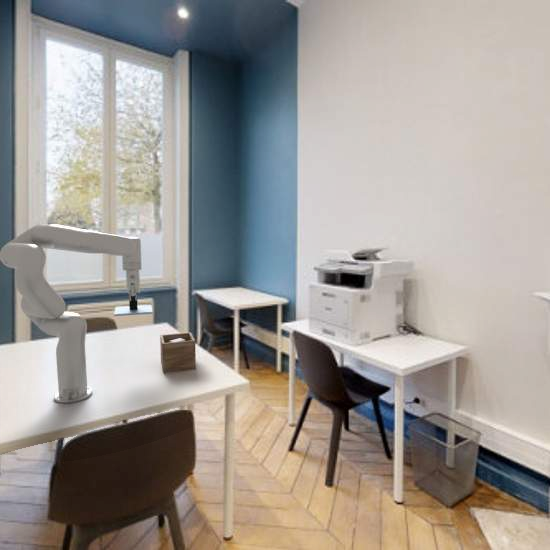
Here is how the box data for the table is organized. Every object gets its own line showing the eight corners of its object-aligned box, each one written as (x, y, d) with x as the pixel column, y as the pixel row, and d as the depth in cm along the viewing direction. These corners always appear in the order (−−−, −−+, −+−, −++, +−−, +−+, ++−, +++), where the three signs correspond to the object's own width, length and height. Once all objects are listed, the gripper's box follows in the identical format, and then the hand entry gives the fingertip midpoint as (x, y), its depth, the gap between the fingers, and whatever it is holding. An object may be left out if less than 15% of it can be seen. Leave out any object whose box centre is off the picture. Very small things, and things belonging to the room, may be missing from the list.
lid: (152, 313, 164) (152, 298, 163) (114, 316, 159) (113, 300, 158) (151, 306, 178) (150, 292, 177) (115, 308, 173) (115, 294, 172)
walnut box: (195, 369, 173) (195, 340, 172) (163, 372, 169) (162, 343, 167) (191, 358, 187) (190, 332, 185) (160, 362, 182) (160, 335, 180)
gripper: (141, 268, 159) (143, 312, 162) (141, 264, 175) (142, 304, 177) (122, 268, 157) (123, 313, 159) (123, 264, 172) (124, 305, 174)
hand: (133, 308), depth 168 cm, fingers closed on lid, 3 cm apart
